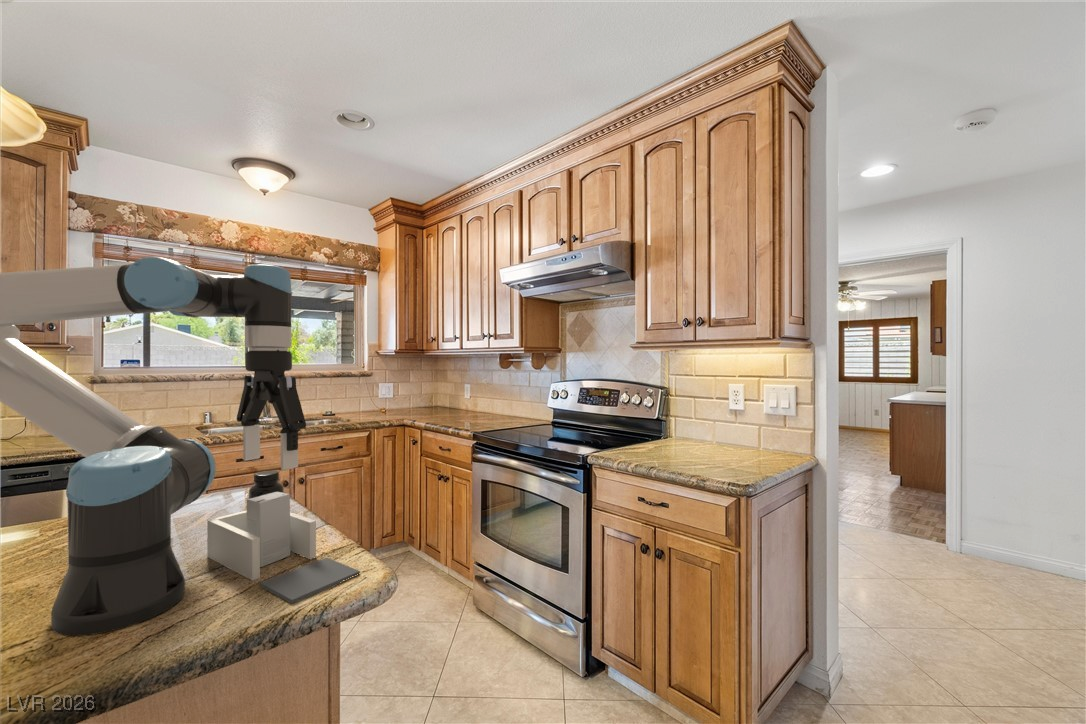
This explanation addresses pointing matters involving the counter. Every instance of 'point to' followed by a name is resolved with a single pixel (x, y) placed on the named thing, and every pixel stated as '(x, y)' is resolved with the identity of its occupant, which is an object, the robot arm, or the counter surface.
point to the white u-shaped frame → (253, 542)
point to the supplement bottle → (265, 484)
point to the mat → (308, 579)
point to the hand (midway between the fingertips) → (269, 463)
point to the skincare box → (270, 525)
